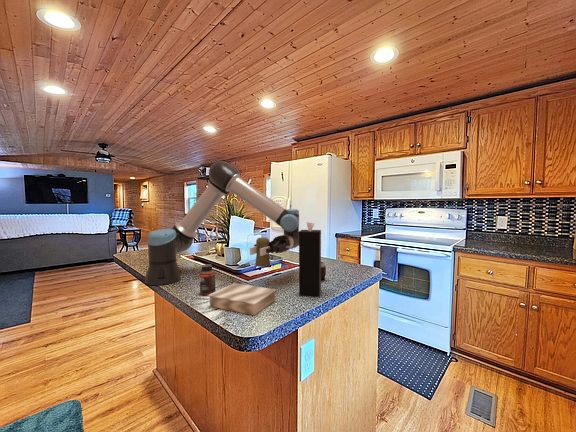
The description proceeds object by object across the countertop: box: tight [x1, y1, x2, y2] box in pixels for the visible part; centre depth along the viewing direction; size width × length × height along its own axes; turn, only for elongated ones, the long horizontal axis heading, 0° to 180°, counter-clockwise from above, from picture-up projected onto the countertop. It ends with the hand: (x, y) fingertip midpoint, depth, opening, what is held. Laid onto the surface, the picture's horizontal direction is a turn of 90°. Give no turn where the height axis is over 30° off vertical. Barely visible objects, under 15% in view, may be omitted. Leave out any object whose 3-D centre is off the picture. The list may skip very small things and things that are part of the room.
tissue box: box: [298, 222, 322, 297], centre depth 104 cm, size 8×8×28 cm
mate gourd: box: [321, 261, 327, 281], centre depth 122 cm, size 8×8×15 cm
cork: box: [254, 236, 271, 268], centre depth 106 cm, size 6×6×11 cm
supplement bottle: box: [198, 263, 217, 296], centre depth 104 cm, size 6×6×11 cm
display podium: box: [207, 282, 277, 316], centre depth 94 cm, size 19×15×4 cm
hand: (255, 251), depth 101 cm, fingers closed on cork, 4 cm apart
